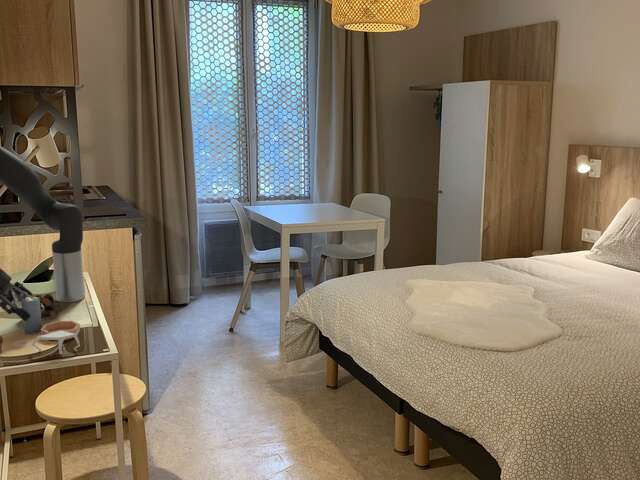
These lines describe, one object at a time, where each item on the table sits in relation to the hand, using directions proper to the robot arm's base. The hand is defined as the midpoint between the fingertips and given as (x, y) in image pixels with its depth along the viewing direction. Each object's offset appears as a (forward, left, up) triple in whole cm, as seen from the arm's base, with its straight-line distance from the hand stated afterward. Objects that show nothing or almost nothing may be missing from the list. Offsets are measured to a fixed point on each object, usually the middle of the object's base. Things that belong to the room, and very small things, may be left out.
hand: (33, 313), depth 193 cm
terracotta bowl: (+3, +8, -6) cm, 11 cm away
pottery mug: (-13, -2, -6) cm, 15 cm away
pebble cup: (0, -1, -6) cm, 6 cm away
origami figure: (+15, +11, -6) cm, 19 cm away
